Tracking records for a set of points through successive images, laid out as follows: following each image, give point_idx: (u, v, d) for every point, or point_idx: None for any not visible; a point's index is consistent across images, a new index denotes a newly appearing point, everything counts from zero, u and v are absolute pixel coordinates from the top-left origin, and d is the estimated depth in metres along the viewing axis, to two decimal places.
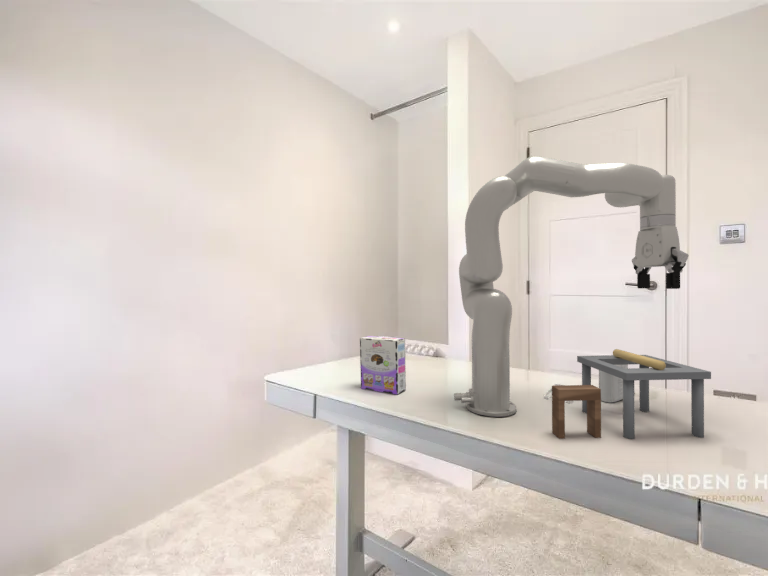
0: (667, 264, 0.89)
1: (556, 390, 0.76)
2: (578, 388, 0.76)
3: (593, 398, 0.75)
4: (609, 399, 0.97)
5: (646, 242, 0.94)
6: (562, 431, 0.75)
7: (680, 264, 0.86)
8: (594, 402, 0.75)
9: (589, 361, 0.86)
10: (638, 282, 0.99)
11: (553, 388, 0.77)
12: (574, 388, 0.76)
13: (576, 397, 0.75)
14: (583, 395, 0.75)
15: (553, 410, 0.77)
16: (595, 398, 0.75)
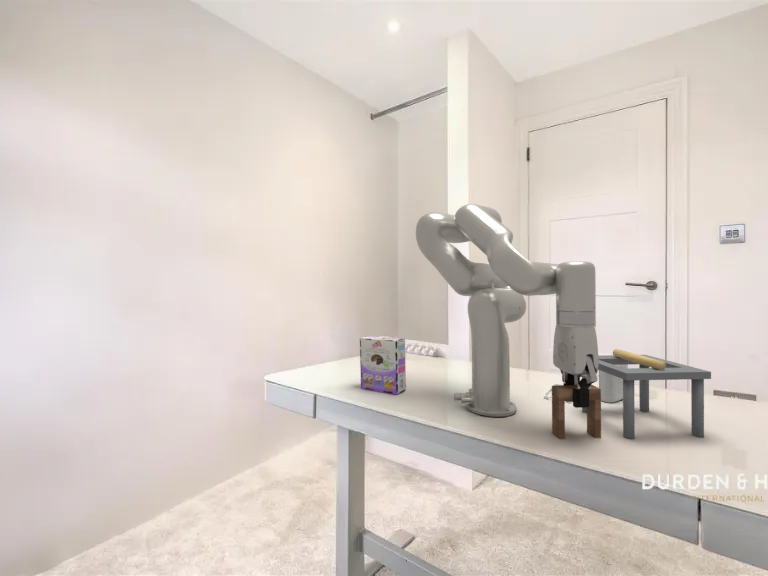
0: (577, 378, 0.74)
1: (556, 390, 0.76)
2: None
3: (593, 398, 0.75)
4: (609, 399, 0.97)
5: (562, 342, 0.76)
6: (562, 431, 0.75)
7: (585, 383, 0.72)
8: (594, 402, 0.75)
9: None
10: None
11: (553, 388, 0.77)
12: None
13: None
14: None
15: (553, 410, 0.77)
16: (595, 398, 0.75)
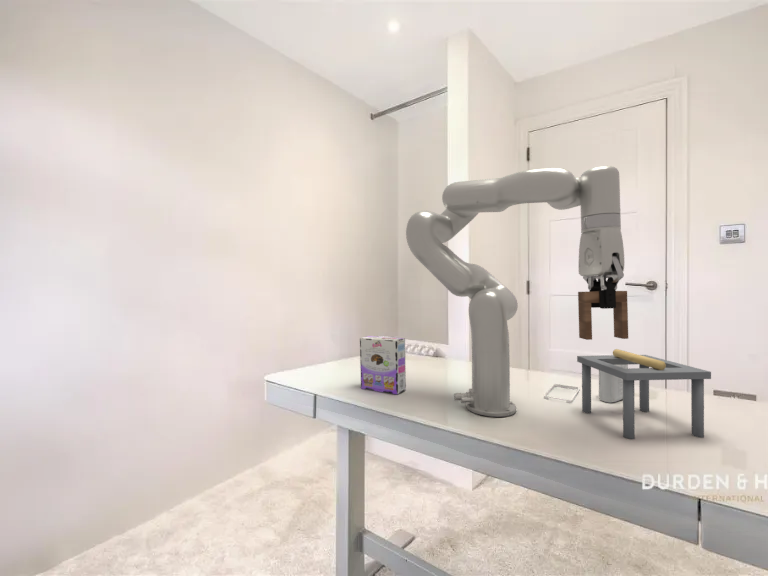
0: (603, 279, 0.76)
1: (582, 293, 0.78)
2: None
3: (619, 300, 0.77)
4: (609, 399, 0.97)
5: (587, 247, 0.79)
6: (589, 332, 0.77)
7: (612, 282, 0.74)
8: (621, 304, 0.77)
9: (589, 361, 0.86)
10: None
11: (579, 293, 0.79)
12: None
13: None
14: None
15: (580, 315, 0.79)
16: (622, 300, 0.77)
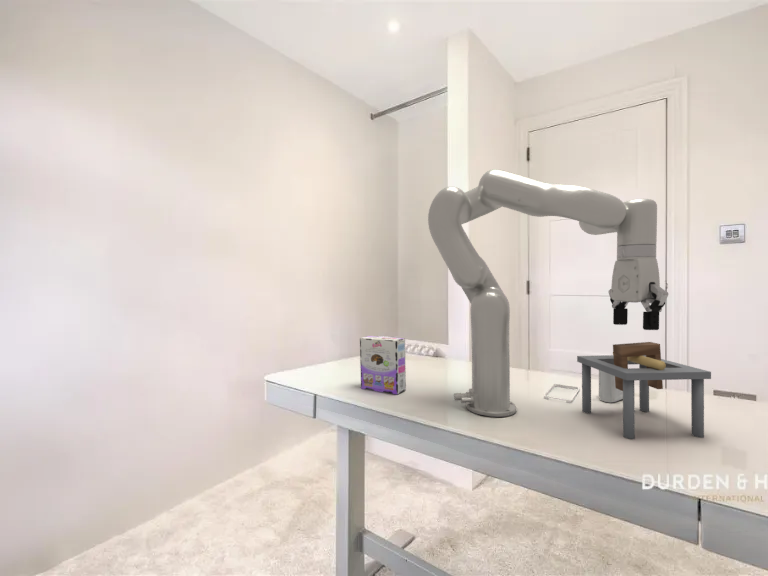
0: (645, 302, 0.78)
1: (618, 347, 0.82)
2: (639, 344, 0.82)
3: (653, 353, 0.81)
4: (609, 399, 0.97)
5: (623, 275, 0.83)
6: None
7: (659, 303, 0.75)
8: (654, 356, 0.82)
9: (589, 361, 0.86)
10: (614, 317, 0.88)
11: (614, 346, 0.84)
12: (635, 345, 0.82)
13: (638, 353, 0.81)
14: (644, 350, 0.81)
15: None
16: (655, 353, 0.81)
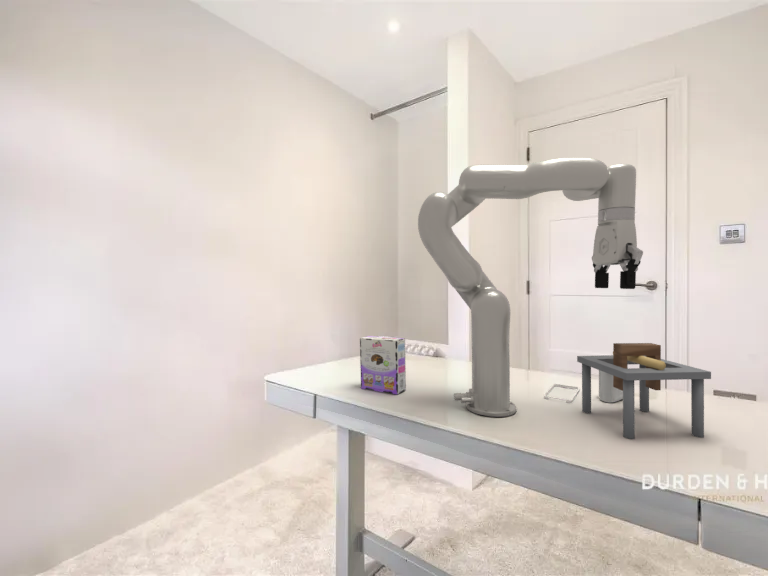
0: (622, 262, 0.81)
1: (618, 346, 0.82)
2: (639, 344, 0.82)
3: (653, 354, 0.81)
4: (609, 399, 0.97)
5: (603, 238, 0.86)
6: None
7: (634, 262, 0.79)
8: (654, 357, 0.82)
9: (589, 361, 0.86)
10: (595, 281, 0.91)
11: (615, 345, 0.84)
12: (635, 344, 0.82)
13: (638, 352, 0.81)
14: (644, 351, 0.81)
15: None
16: (656, 354, 0.81)
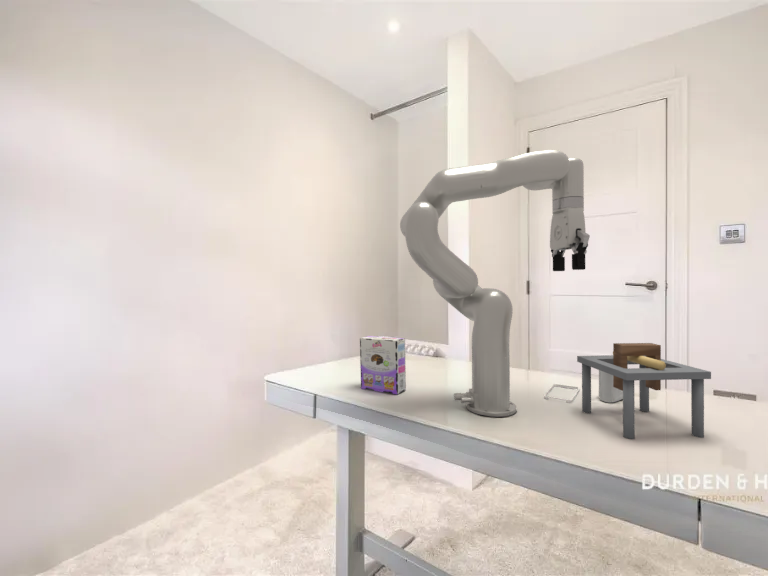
0: (573, 245, 0.91)
1: (618, 346, 0.82)
2: (639, 344, 0.82)
3: (653, 353, 0.81)
4: (609, 399, 0.97)
5: (557, 225, 0.95)
6: None
7: (582, 245, 0.88)
8: (654, 357, 0.82)
9: (589, 361, 0.86)
10: (553, 265, 1.00)
11: (615, 345, 0.84)
12: (635, 344, 0.82)
13: (638, 352, 0.81)
14: (644, 351, 0.81)
15: None
16: (656, 354, 0.81)
